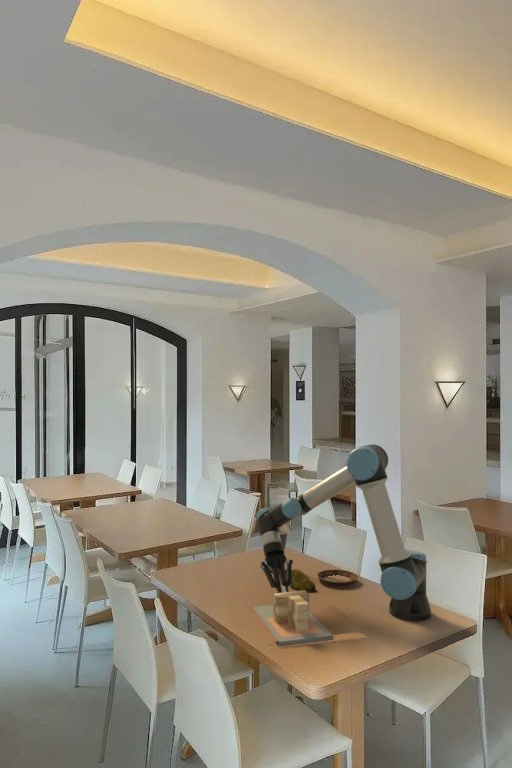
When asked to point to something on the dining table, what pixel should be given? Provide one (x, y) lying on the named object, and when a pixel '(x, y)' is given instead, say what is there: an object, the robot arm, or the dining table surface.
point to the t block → (292, 609)
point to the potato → (302, 581)
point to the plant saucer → (336, 582)
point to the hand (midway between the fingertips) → (286, 604)
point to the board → (288, 633)
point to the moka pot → (283, 541)
